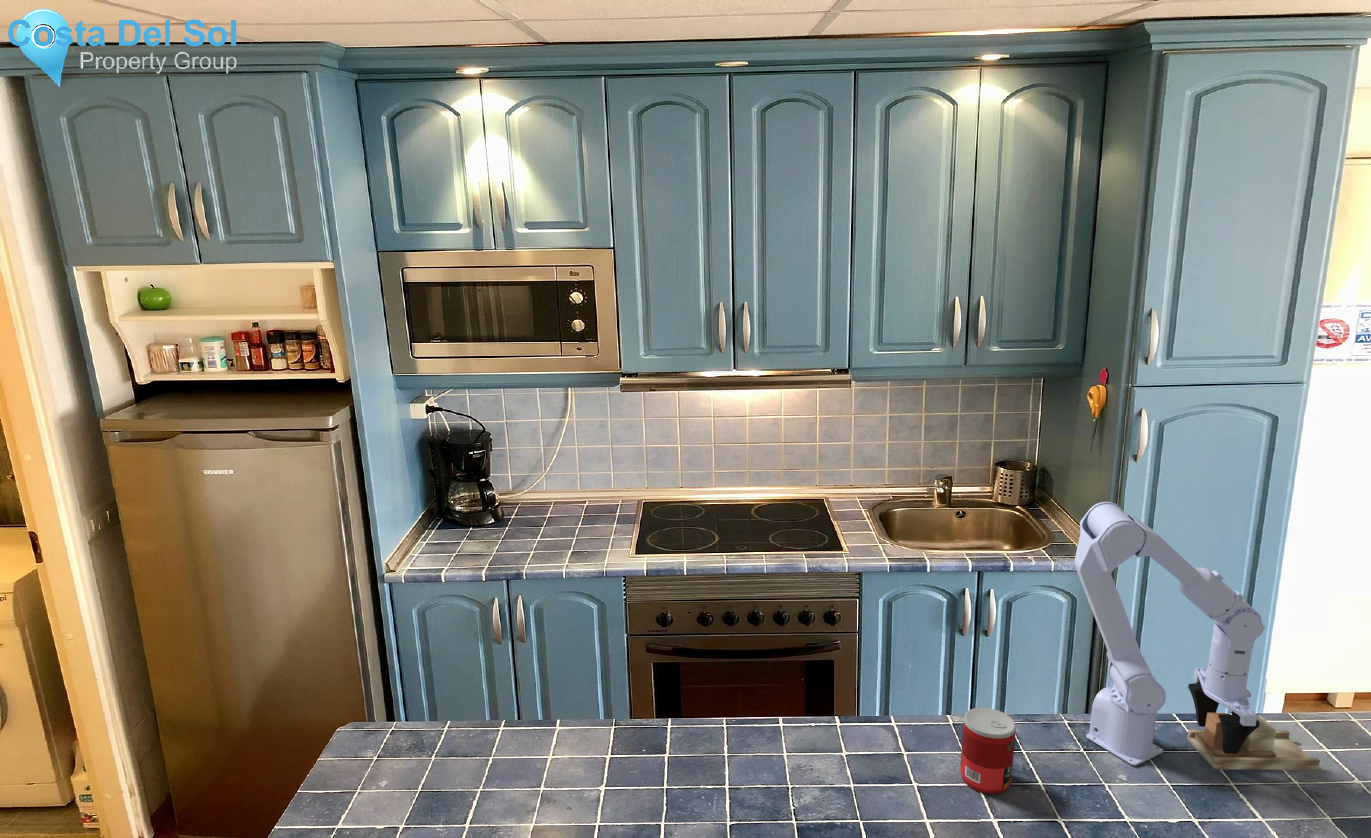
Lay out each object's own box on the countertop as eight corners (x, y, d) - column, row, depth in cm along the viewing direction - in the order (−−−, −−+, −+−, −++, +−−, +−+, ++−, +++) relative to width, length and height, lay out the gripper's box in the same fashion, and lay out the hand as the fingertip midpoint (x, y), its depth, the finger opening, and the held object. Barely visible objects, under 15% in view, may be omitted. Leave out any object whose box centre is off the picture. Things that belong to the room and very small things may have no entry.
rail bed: (1214, 769, 141) (1215, 759, 141) (1186, 738, 150) (1188, 729, 149) (1318, 770, 141) (1320, 760, 140) (1285, 739, 149) (1286, 730, 149)
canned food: (1014, 798, 135) (1020, 737, 133) (962, 792, 137) (966, 731, 134) (1006, 767, 143) (1011, 709, 140) (957, 762, 144) (961, 704, 142)
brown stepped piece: (1214, 759, 142) (1219, 727, 141) (1194, 737, 148) (1199, 707, 147) (1275, 759, 142) (1280, 728, 141) (1253, 738, 148) (1258, 707, 146)
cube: (1248, 750, 143) (1251, 729, 142) (1234, 736, 147) (1237, 716, 146) (1272, 751, 143) (1276, 730, 142) (1257, 736, 147) (1261, 716, 146)
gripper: (1280, 691, 134) (1268, 765, 138) (1227, 645, 148) (1216, 714, 152) (1235, 691, 135) (1223, 765, 138) (1186, 645, 149) (1176, 714, 152)
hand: (1217, 738), depth 145 cm, fingers open, 7 cm apart
